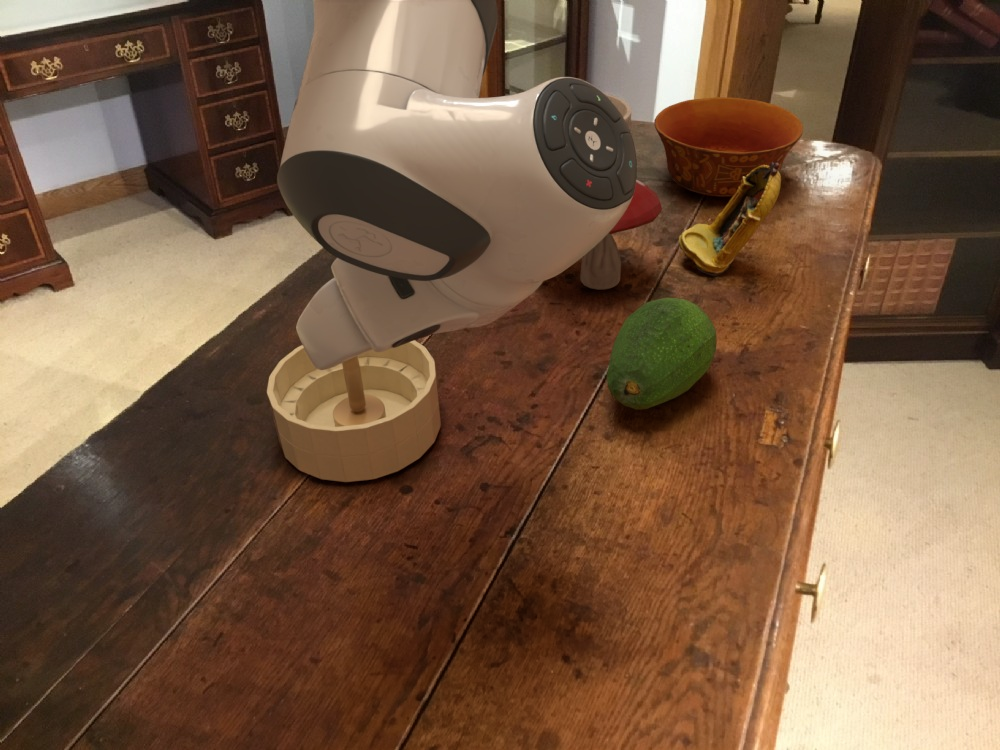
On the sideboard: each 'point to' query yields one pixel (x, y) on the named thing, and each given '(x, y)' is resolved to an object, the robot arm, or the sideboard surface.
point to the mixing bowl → (366, 447)
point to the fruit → (660, 352)
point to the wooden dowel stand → (356, 400)
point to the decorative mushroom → (604, 258)
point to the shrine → (733, 222)
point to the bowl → (724, 141)
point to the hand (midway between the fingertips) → (401, 320)
